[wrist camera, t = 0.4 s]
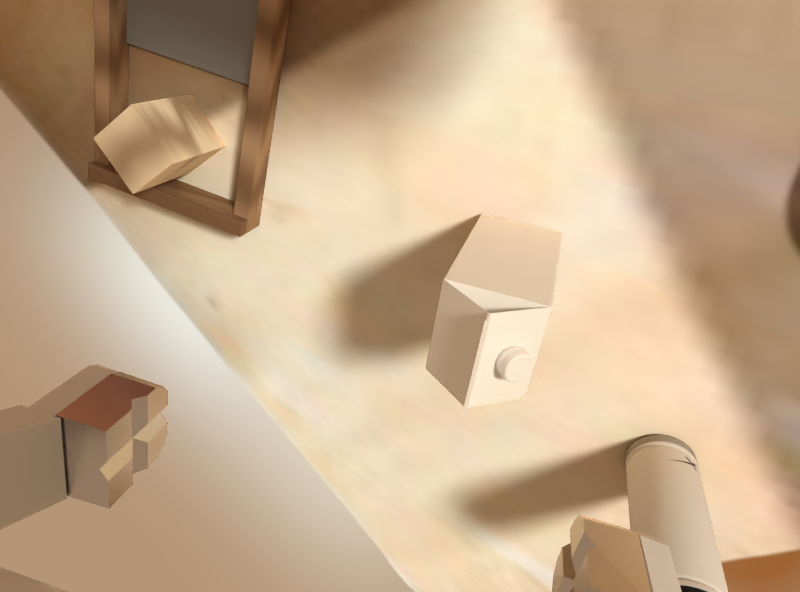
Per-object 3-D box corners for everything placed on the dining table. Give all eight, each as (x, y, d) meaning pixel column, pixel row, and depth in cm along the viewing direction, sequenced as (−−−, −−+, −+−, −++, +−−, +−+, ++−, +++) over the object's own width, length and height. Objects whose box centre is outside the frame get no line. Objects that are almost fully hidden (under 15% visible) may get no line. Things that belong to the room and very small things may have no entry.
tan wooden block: (155, 124, 55) (93, 138, 48) (191, 93, 53) (131, 104, 46) (188, 173, 57) (132, 194, 50) (225, 146, 54) (171, 163, 47)
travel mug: (691, 428, 52) (741, 628, 35) (699, 484, 54) (750, 698, 37) (619, 432, 54) (632, 621, 37) (630, 486, 57) (646, 688, 39)
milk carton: (465, 284, 53) (409, 401, 36) (481, 212, 49) (427, 305, 33) (541, 303, 51) (518, 434, 35) (563, 231, 48) (548, 338, 32)
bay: (115, -101, 47) (83, -110, 44) (298, -46, 45) (277, -51, 42) (114, 169, 59) (88, 177, 56) (258, 225, 57) (240, 236, 54)
